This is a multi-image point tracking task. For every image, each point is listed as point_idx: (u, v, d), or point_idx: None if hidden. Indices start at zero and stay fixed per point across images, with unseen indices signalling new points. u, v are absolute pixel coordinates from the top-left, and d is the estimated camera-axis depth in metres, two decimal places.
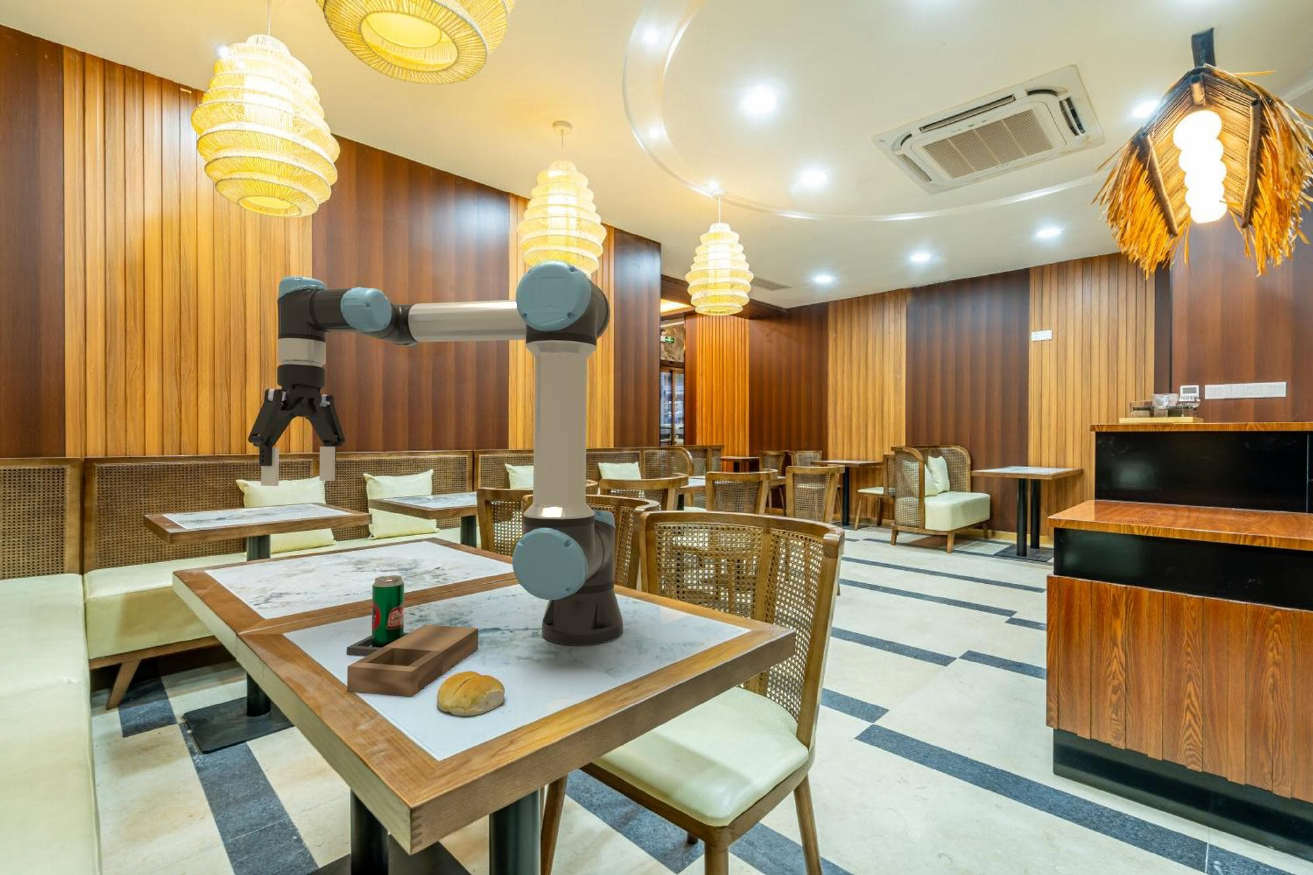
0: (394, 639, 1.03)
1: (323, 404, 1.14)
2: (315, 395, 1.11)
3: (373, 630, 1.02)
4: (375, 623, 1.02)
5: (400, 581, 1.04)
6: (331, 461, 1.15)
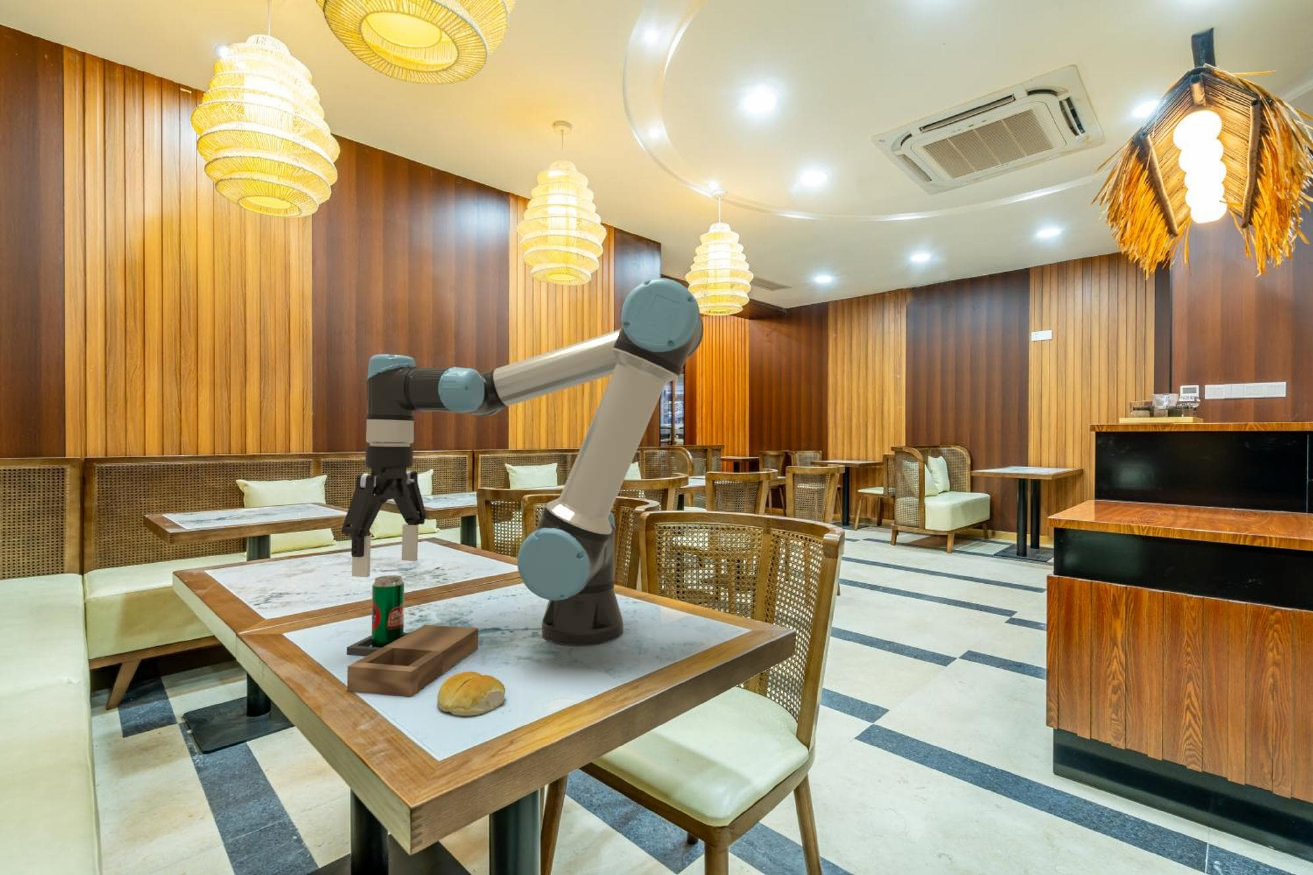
0: (394, 639, 1.03)
1: (407, 482, 1.10)
2: (402, 475, 1.06)
3: (373, 630, 1.02)
4: (375, 623, 1.02)
5: (400, 581, 1.04)
6: (414, 540, 1.11)
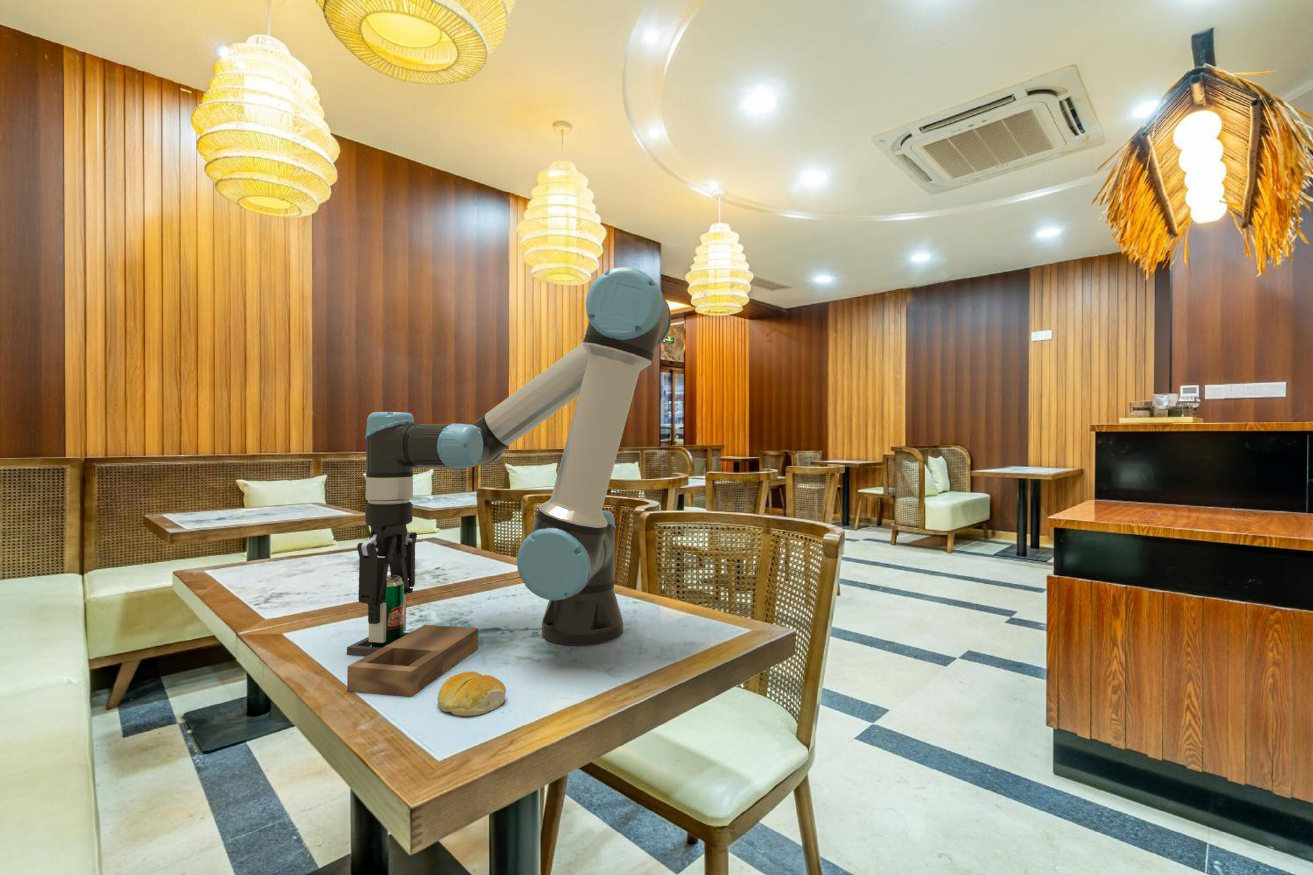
0: (394, 639, 1.03)
1: (405, 540, 1.09)
2: (403, 528, 1.07)
3: None
4: None
5: (400, 581, 1.04)
6: None
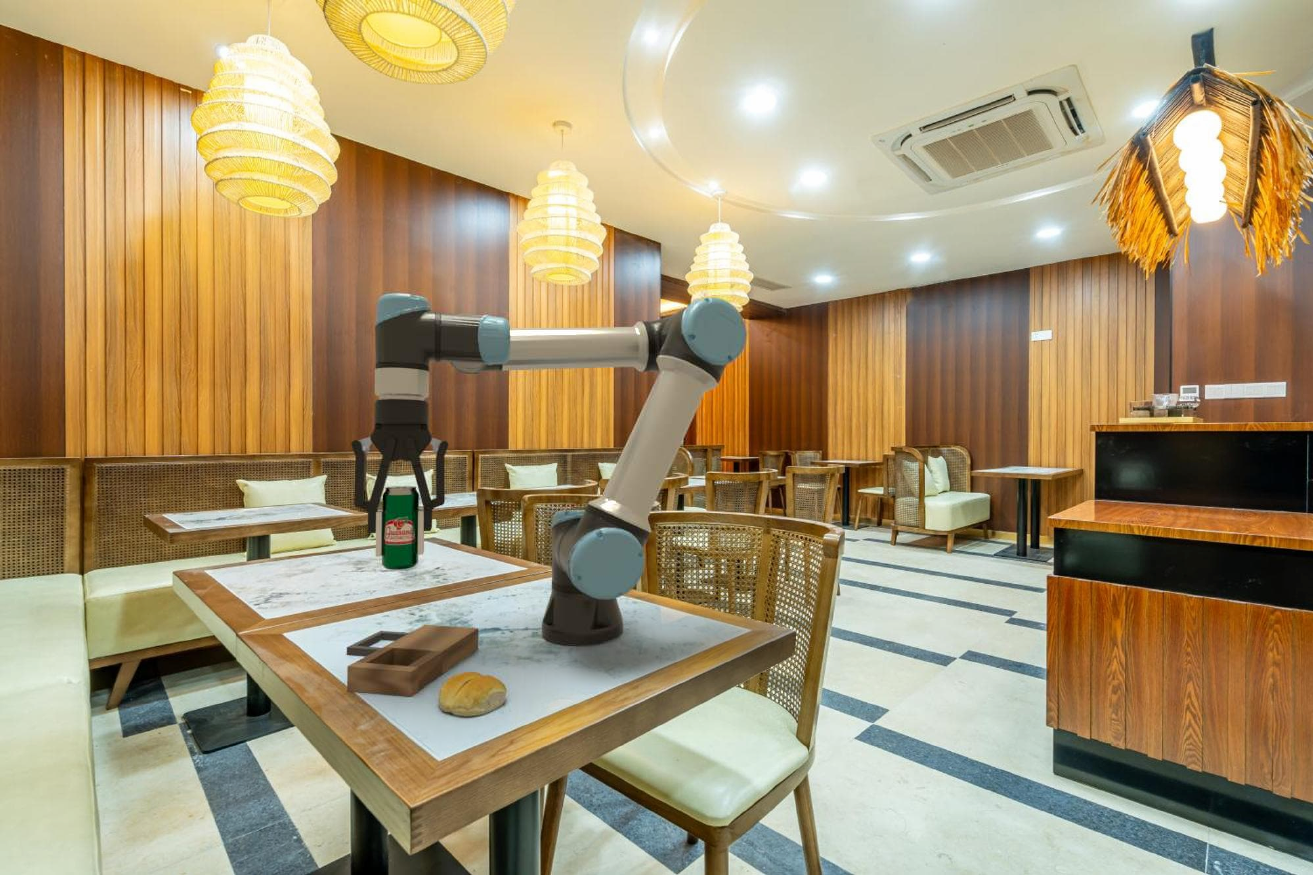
0: (389, 557, 0.88)
1: (433, 449, 0.92)
2: (419, 432, 0.91)
3: None
4: None
5: (401, 491, 0.89)
6: (418, 529, 0.91)
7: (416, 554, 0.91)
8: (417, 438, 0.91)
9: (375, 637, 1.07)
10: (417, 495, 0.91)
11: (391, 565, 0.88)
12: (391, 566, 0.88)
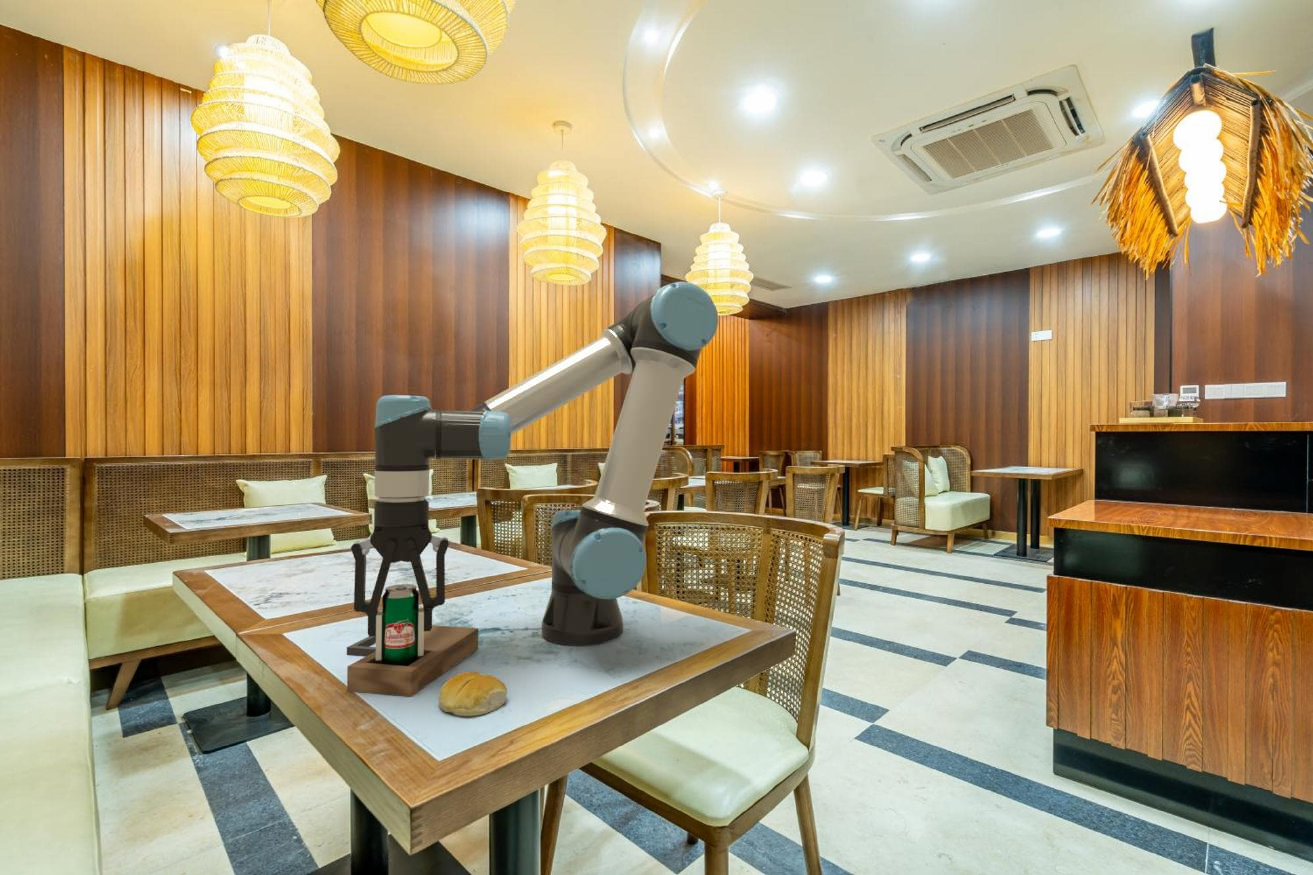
0: (389, 660, 0.88)
1: (433, 548, 0.92)
2: (419, 532, 0.90)
3: None
4: None
5: (401, 594, 0.88)
6: (418, 630, 0.90)
7: (416, 655, 0.90)
8: (417, 538, 0.90)
9: (375, 637, 1.07)
10: (417, 595, 0.90)
11: None
12: None
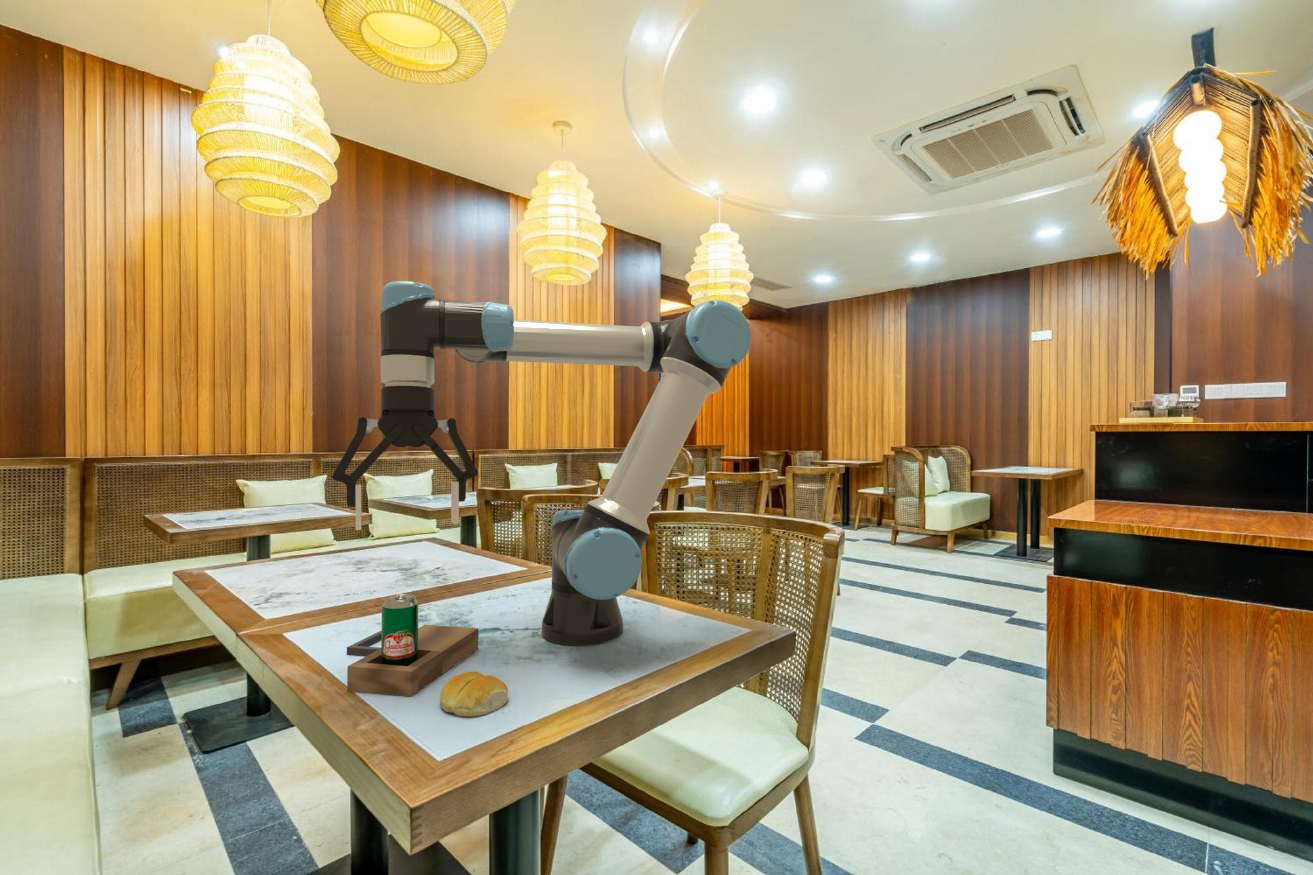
0: None
1: (443, 430, 0.94)
2: (423, 420, 0.92)
3: None
4: None
5: (400, 604, 0.88)
6: (453, 500, 0.94)
7: None
8: (425, 427, 0.92)
9: (375, 637, 1.07)
10: (417, 606, 0.90)
11: None
12: None
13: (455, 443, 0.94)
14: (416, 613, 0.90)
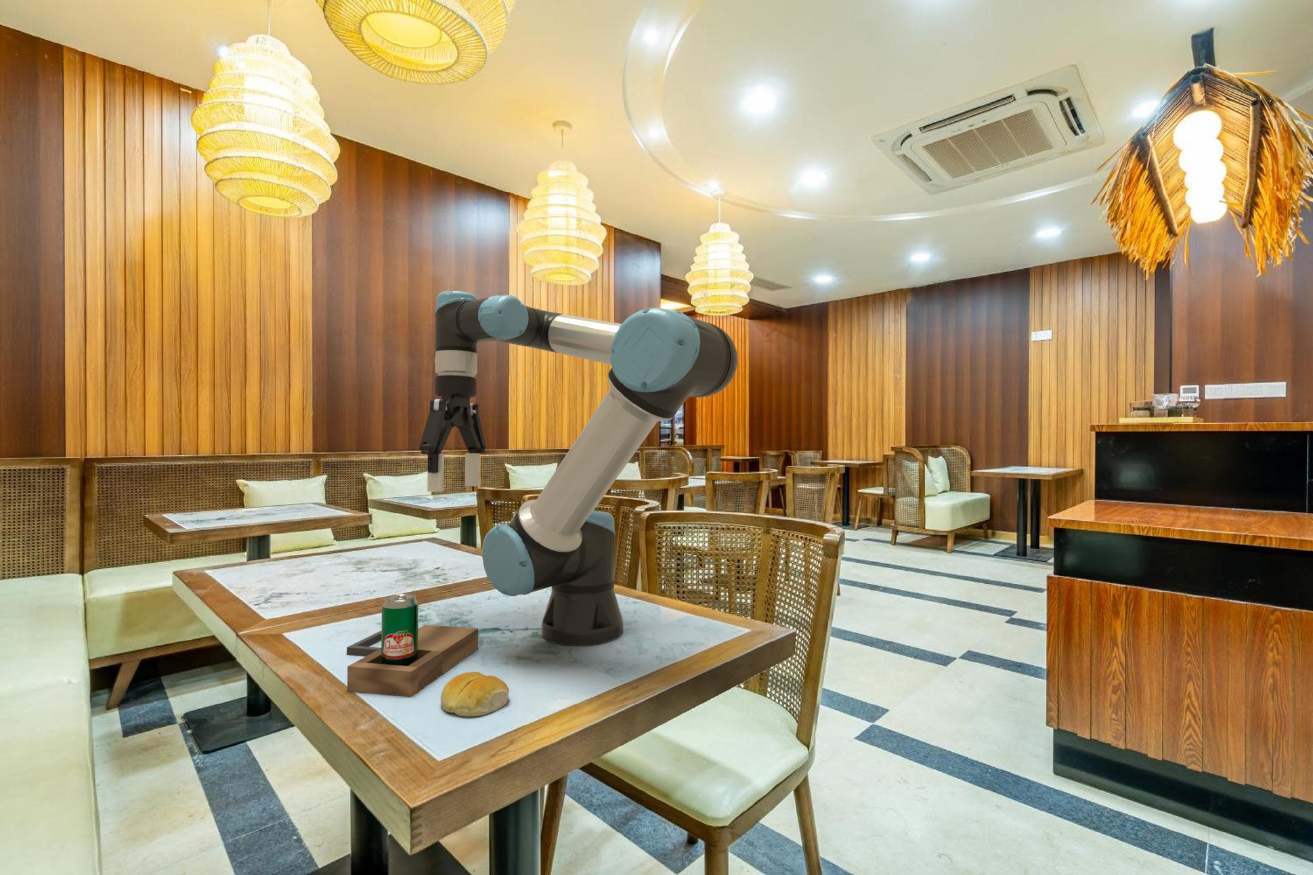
0: None
1: (470, 413, 1.19)
2: (466, 404, 1.16)
3: None
4: None
5: (400, 604, 0.88)
6: (476, 467, 1.20)
7: None
8: None
9: (375, 637, 1.07)
10: (417, 606, 0.90)
11: None
12: None
13: (478, 423, 1.20)
14: (416, 613, 0.90)
